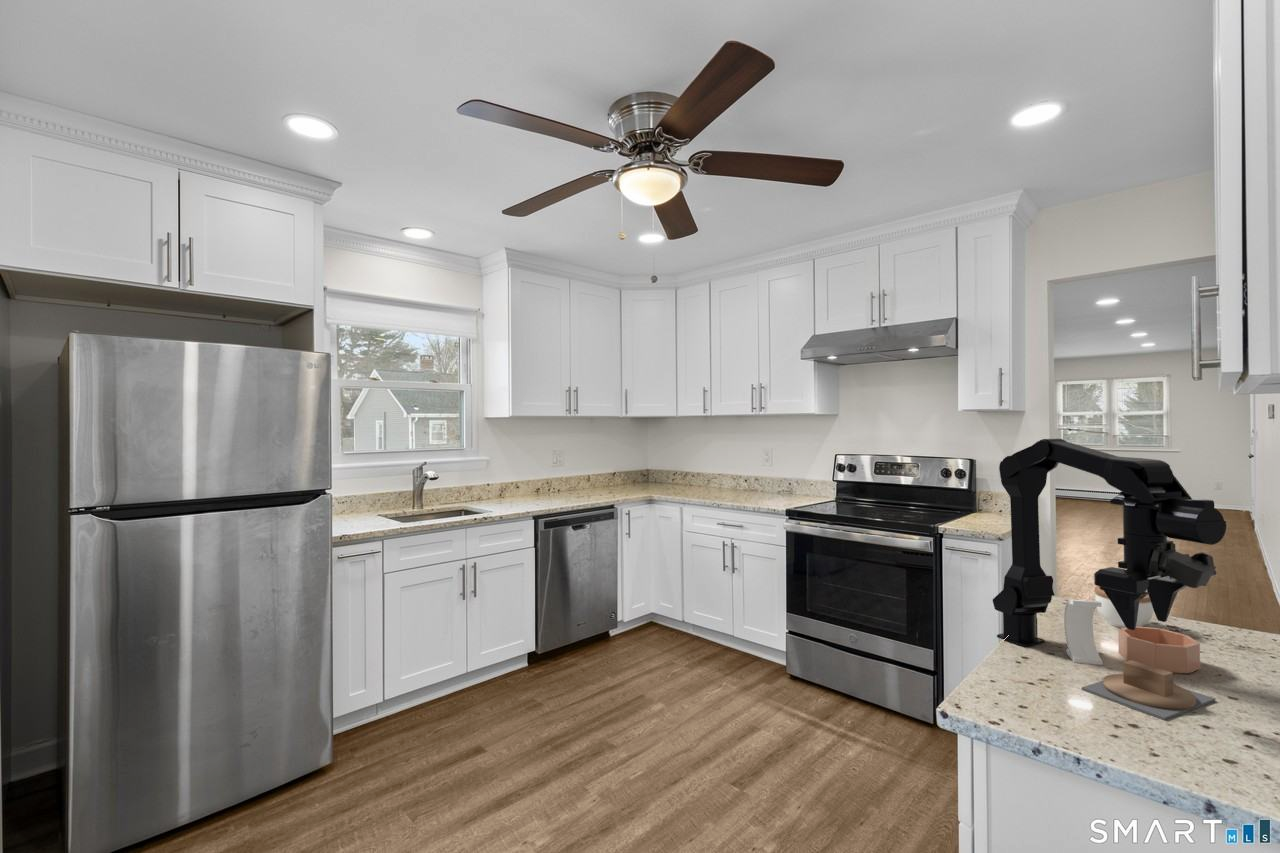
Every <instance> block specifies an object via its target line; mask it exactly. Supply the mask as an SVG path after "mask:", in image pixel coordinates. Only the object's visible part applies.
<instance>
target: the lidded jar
mask: <svg viewBox="0 0 1280 853" xmlns="http://www.w3.org/2000/svg"><path fill="white" fill-rule="evenodd" d="M1145 592H1147V590H1146V591H1145ZM1094 599H1095V600H1094V601H1099V602H1101V605H1102V607H1096V608H1097V611H1098V614H1099V615H1100V616H1101V617H1102V618H1103V620H1105V621H1106V623H1107V624H1108V625H1110V626H1113V627H1115V628H1118V629H1121V628H1125V627H1126V626H1125V625H1124V623H1123V621H1122V619H1121V618H1120V616H1119V614H1118V612H1117V611H1116V609H1115V607H1114V606H1113V604H1112V602H1111V601H1110V599H1109V598H1108V596H1107V595H1106V593H1105V592H1104V590H1101V589H1100V586H1096V585H1095V587H1094ZM1154 613H1155V612H1154V610H1153V607H1152V604H1151V601H1150V598H1149V595H1146V596H1145V597H1143V598H1142V599H1141V600H1140V601H1139V608H1138V616H1137V623H1136V626H1139V627H1145V626H1146V625H1147V624H1148V623H1150V621H1151V620H1152V618H1153V616H1152V615H1154Z"/></svg>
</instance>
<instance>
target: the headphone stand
mask: <svg viewBox="0 0 1280 853" xmlns="http://www.w3.org/2000/svg"><path fill="white" fill-rule="evenodd" d="M1097 607H1102V605H1101V602H1099V601H1095V600H1084V599H1083V600H1082V599H1072V598H1071V599H1068V600H1067V602H1066V604H1065V608H1064V617H1063V618H1064V620H1063V621H1064V634H1065V642H1066V645H1067V648H1066V649H1065V650H1066V652H1065V653H1066V654H1067V655H1068V658H1070V659H1071V660H1072V662H1073V663H1079V664H1088V665H1095V666H1096V665H1098V666H1103V660H1102V659H1101V657H1100V655H1099V652H1098V650H1097V646H1096V642H1095V636H1094V627H1093V626H1094V624H1093V621H1094V614H1095V612H1096V611H1095V610H1096V608H1097Z"/></svg>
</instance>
